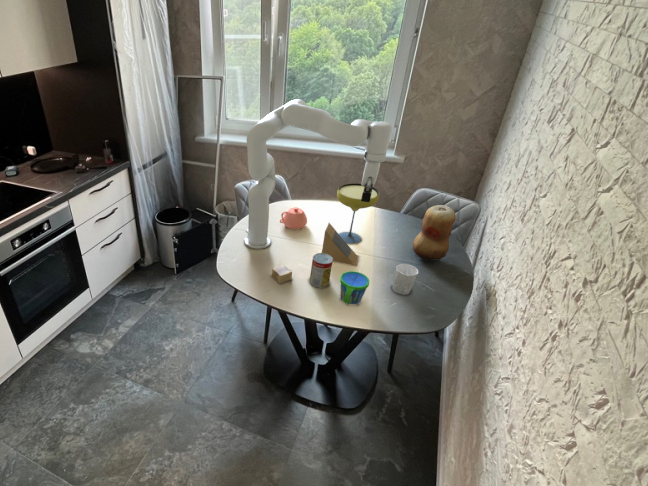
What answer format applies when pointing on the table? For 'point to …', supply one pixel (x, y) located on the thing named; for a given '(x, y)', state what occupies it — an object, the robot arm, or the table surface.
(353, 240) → the cocktail glass
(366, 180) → the robot arm
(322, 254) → the canned food
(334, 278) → the table surface
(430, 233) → the butternut squash
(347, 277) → the snack cup
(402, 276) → the white cup
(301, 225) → the sugar bowl
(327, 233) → the sandwich container
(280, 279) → the block
